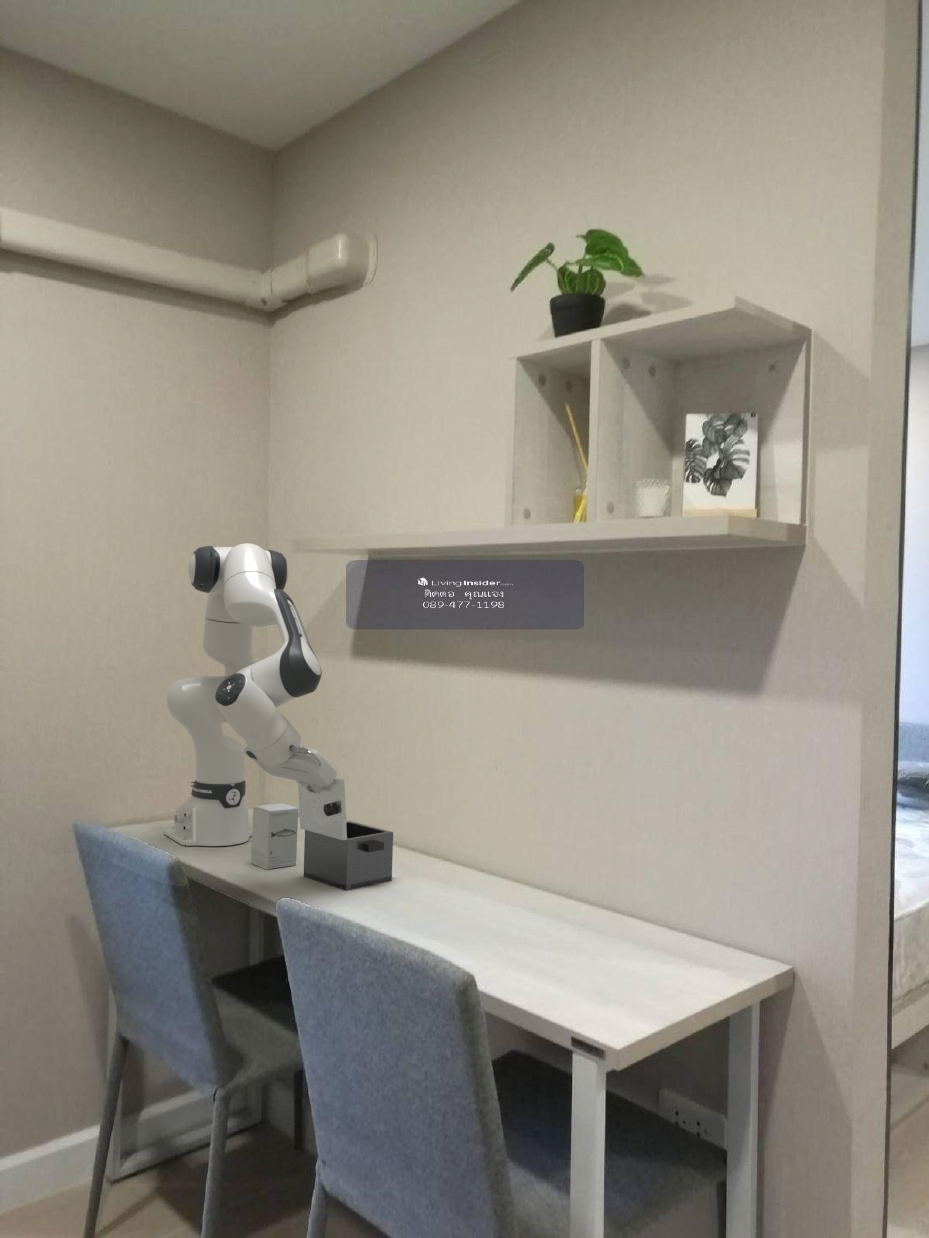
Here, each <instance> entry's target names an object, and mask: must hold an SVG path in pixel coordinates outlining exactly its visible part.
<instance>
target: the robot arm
mask: <svg viewBox="0 0 929 1238" xmlns="http://www.w3.org/2000/svg"><path fill="white" fill-rule="evenodd" d="M187 568H188V576H189V579H190V582H191V586H193V588H194V589H195V590H196V591H198V592H202V593H207V594H208V595H207V601H206V605H205V606H206V607H205V614H204V615H205V616H204V626H203V642H202V648H203V650H204V652H205V654H206V655H207V656H208V657H209V658H210V659H212V660H213V661H215V662H217V663H219V664H221V665H222V666H223V667H224V675H222V676H220V675H219V676H210V675H209V676H207V675H206V676H204V675H203V676H202V675H201V676H200V675H199V676H192V677H186V678H182V679H177V680H176V681H174V683H172V685H171V686H170V688H169V690H168V692H167V697H166V706H167V708H168V711H169V713H170V715H171V716H172V717H173V718H174V719H175V720H176V721H177V722H178V723H180V724H181V725H182V727H184V729H186V731H187V732H188V734H189V735H190V736H191V739H192V741H193V744H194V748H195V761H196V762H195V763H196V764H195V765H196V766H195V767H196V769H195V770H196V772H195V776H196V777H195V780H194V781H190V783H191V784H192V785H190V787H191V793H190V794H191V796H190V797H188V799H187V800H186V801H184V803H183V804H181V805H180V806H179V807H178V808H177V809H176V811H175V814H174V816H173V817H174V818H173V821H174V823H173V824H174V825H173V827H168V828H166V829H164V832H163V835H165V836H166V837H169V838H170V839H171V840H173V841H174V842H176V843H178V844H180V845H181V846H185V845H186V847H187V846H188V847H189V846H199V847H200V846H201V847H202V846H203V847H225V846H233V845H238V844H239V845H240V844H243V843H246V842H247V841H249V840H250V837H251V838H252V829H250V816H249V815H250V813H249V812H250V811H249V803H248V801H247V800H246V798H245V796H246V789H247V784H246V780H245V755H246V756H247V757H248V758H250V759H253V761H254V762H255V763H256V764H257V765H258V766H259V767H260V768H262V770H263V771H264V772H266V773H267V774H268V775H270V776H273V777H278V778H281V779H282V778H283V779H287V780H291V781H295V782H297V784H298V783H299V784H301V785H302V786H304V787H305V788H306V789H307V790H308V792H313V793H317V794H319V793H320V792H321V791H322V790H323V787H328V786H329V785H330V784H331V783H332V781H333V780H334V779H335V777H336V778H337V775H338V773H337V772H338V771H337V770H336V768H335V767H334V766H333V765H332V764H331V763H330V762H329V761H328V759H326V758H325V757H324V755H323V754H321V753H320V752H319V751H317V750H316V749H314V748H311V747H306V746H305V747H304V746H301V743H302V737H301V735H300V733H299V732H298V730H297V729H296V728H295V727H294V726H293V724H292V723H291V722H290V721H289V720H288V719H287V717H285V716H284V715H283V714H282V713H280V711H278V709H277V707H280V706H281V705H284V704H286V703H288V702H290V701H292V700H295V699H297V698H300V697H303V696H306V695H308V694H312V693H313V692H316V689H317V688H318V686H319V684H320V681H321V679H322V674H323V672H322V668H321V665H320V663H319V660H318V657H317V656H316V654H315V652H314V650H313V647H312V646H311V643H310V641H309V639H308V636H307V635H308V634H307V632H306V631H305V627H304V625H303V622H302V619H301V616H300V615H299V614H300V613H299V612H298V609H297V607H296V604H295V603H294V601H293V600H292V598H291V597H290V596H289V595H290V594H287V592H286V591H284V589H285V587H286V584H287V583H288V578H289V567H288V562H287V558H286V557H285V556H284V554H283V553H281V552H279V551H276V550H273V549H267V550H266V549H263V547H261V546H260V545H257V544H254V543H250V542H249V543H247V542H246V543H240V544H237V545H234V546H214V547H213V545H205V546H201V547H200V546H199V547H198V548H196V550H194V551H193V553H192V555H191V558H190V560H189V563H188V567H187ZM275 625H277V628H278V630H279V633H280V636H281V639H282V642H283V643H282V644H283V645H282V646H281V648H280V649H278V650H277V651H276V652H275V653H273V654H271V655H269V656H267V657H265V658H263V659H261V660H259V661H257V662H255V660H254V655H253V642H252V641H253V628H254V627H255V628H257V627H258V628H259V627H260V628H261V627H266V626H275ZM223 723H228V725H229V726H230V727H231V729H232V730H233V731H234V732H235V733H236V734H237V735H238V736H239V737H241V738H243V739H244V740H245V741H246V743H247V745H246V746H245V748H244V747H243V745H242V744H241V743H240V742H239V741H238V740H236V739H234V738H232V737H230V736H228V735H226V734H224V732H223V726H222V724H223Z"/></svg>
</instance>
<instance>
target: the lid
mask: <svg viewBox="0 0 929 1238" xmlns="http://www.w3.org/2000/svg"><path fill="white" fill-rule="evenodd" d="M297 789H298V790H297V791H298V792H297V793H298V814H299V829H301V830H304V831H305V830H308V831H311V832H315V833H318V834H322V835H326V836H329V837H333V838H336V839H340V840H346V839H347V828H346V822H347V814H346V813H347V811H346V792H345V791H346V790H345V789H346V787H345V779H344V778H339V777H337V776H336V777H335V779H334V780H333V781H332V783H331V784H330V785H329V786H328V787H323V790H322V791H321V792H320V793H319V794H317V793H313V792H308V790H307V789H306V788H305V787H304V786H302V785H301V784H299V783H298V782H297Z"/></svg>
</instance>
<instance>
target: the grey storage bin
mask: <svg viewBox="0 0 929 1238" xmlns="http://www.w3.org/2000/svg"><path fill="white" fill-rule="evenodd" d="M346 828H347V839H346V840H340V839H336V838H333V837H329V836H326V835H322V834H318V833H315V832H311V831H308V830H304V845H303V846H304V847H303V848H304V850H303V851H304V852H303V877H304V878H306V879H310V880H313V881H316V882H320V883H322V884H325V885H329V886H330V887H331V886H332V887H334V888H337V889H339V890H343V891H346V892H347V891H352V890H356V889H361V888H365V887H369V886H373V885H378V884H383V883H387V882H391V881H392V880H393V852H394V850H393V849H394V831H390V830H387V829H383V828H378V827H375V826H371V825H367V824H363V823H359V822H355V821H352V820H348V821H347V820H346Z"/></svg>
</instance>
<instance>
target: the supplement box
mask: <svg viewBox="0 0 929 1238" xmlns="http://www.w3.org/2000/svg"><path fill="white" fill-rule="evenodd" d="M298 821H299V807H296V806H295V805H294V806H293V805H289V804H287V803H283V802H279V803H270V804H269V803H268V804H259V805H253V806H252V829H251V830H252V836H251V853H250V855H251V858H250V863H251V864H253V865H255V866H257V867H260V868H262V869H264V870H266V871H268V870H271V869H276V868H277V869H278V868H283V867H292V866H293V867H295V866H296V865H297V851H298V829H299V828H298V826H299V822H298Z"/></svg>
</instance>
